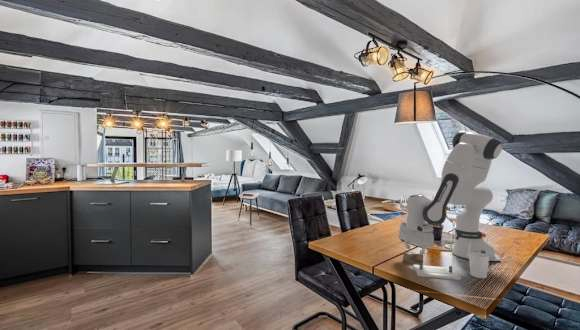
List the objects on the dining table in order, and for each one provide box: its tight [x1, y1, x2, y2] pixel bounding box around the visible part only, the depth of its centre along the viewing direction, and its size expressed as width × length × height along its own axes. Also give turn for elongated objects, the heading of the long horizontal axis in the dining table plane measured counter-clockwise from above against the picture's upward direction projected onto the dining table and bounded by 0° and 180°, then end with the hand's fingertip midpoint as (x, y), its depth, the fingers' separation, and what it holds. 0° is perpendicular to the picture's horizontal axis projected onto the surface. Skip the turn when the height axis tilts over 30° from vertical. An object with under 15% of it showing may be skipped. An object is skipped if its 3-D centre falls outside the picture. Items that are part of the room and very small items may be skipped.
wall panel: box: [412, 263, 462, 281], centre depth 139 cm, size 18×12×4 cm, turn 77°
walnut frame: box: [402, 251, 424, 264], centre depth 154 cm, size 9×4×5 cm, turn 98°
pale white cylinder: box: [468, 252, 490, 279], centre depth 137 cm, size 8×8×10 cm
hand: (415, 251), depth 152 cm, fingers open, 8 cm apart
